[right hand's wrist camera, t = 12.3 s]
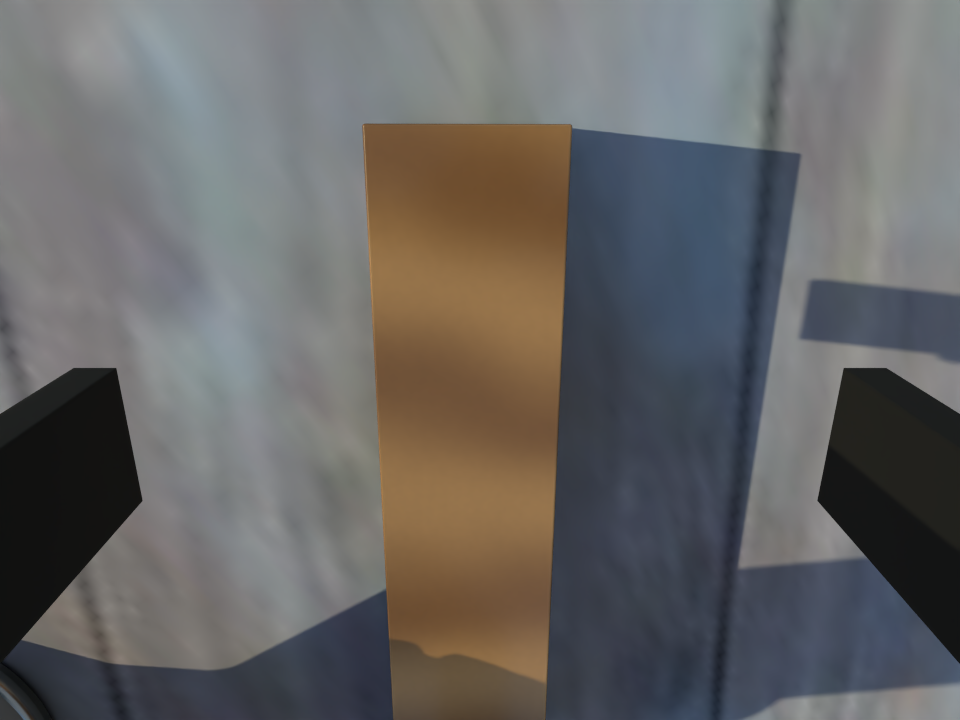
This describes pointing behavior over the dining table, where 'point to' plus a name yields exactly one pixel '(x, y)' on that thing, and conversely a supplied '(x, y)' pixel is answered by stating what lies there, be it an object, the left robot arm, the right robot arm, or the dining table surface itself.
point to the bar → (468, 406)
